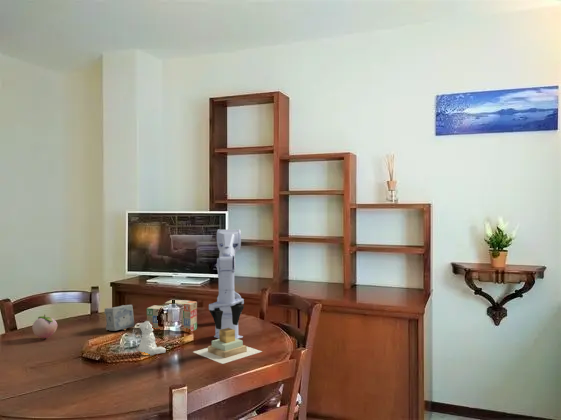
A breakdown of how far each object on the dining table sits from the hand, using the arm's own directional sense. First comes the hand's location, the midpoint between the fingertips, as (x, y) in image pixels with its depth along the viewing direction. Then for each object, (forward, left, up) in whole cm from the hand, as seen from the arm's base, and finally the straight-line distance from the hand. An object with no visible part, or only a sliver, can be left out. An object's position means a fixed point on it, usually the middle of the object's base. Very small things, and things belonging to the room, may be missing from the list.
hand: (227, 326), depth 169 cm
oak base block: (0, 0, -9) cm, 9 cm away
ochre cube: (0, 0, -5) cm, 5 cm away
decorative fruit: (-67, -41, -10) cm, 79 cm away
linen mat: (0, 0, -10) cm, 10 cm away
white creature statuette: (-20, -20, -10) cm, 30 cm away
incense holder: (-59, -13, -10) cm, 61 cm away
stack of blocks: (-43, +3, -10) cm, 44 cm away
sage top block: (0, 0, -7) cm, 7 cm away
